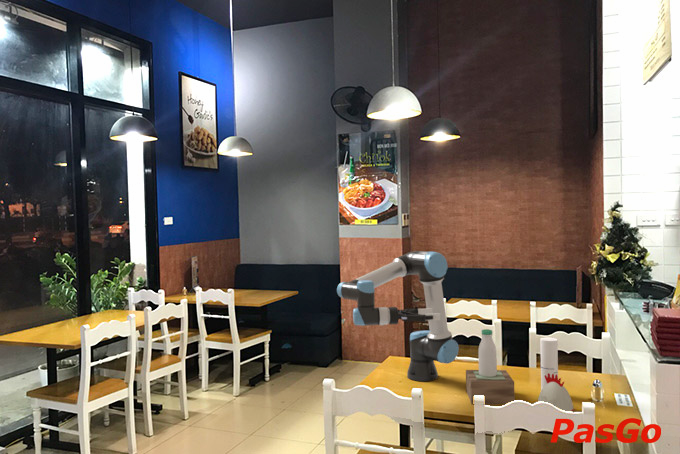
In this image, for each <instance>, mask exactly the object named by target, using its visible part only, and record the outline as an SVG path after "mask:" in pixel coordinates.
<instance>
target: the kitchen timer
mask: <svg viewBox="0 0 680 454" xmlns="http://www.w3.org/2000/svg"><path fill="white" fill-rule="evenodd" d="M545 379H546V381H547V384H546V385H545V386H544V387H543V389H542V390H541V389H540V392H539V396H538V399H537V402H538V401H544V402H548V403H551V404H553V405H554V406H556V407H558V408H560V409H562V410H565V411H574V404H573V401H572V398H571V396H570V393H569V392H568V390H567V388H566V387H565V386H564V384H565V381H562V383H561V380H562V377H559V376H558V377H557V375H555V379H554V374H552V377H550V374H549V373H548V378H547V376H546V375H545Z"/></svg>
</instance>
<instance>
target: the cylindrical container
mask: <svg viewBox="0 0 680 454" xmlns="http://www.w3.org/2000/svg"><path fill="white" fill-rule="evenodd" d="M539 339H540V340H539V341H540V343H539V344H540V347H539V348H540V349H539V350H540V391H541V390H542V389H543V387H544V386H545V385H546V384H547V381H546V379H545V375H546V376H547V378H548V373H549V374H550V377H552V374H554V379H555V375H557V377H558V378H559V366H558V365H559V364H558V363H559V359H558V357H559V356H558V355H559V354H558V351H559V349H558V339H557V338H554V337H549V336H548V337H547V336H546V337H541V338H539Z"/></svg>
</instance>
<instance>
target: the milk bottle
mask: <svg viewBox="0 0 680 454" xmlns="http://www.w3.org/2000/svg"><path fill="white" fill-rule="evenodd" d="M492 336H493V330H492V329H487V328H486V329H481V340H480V343H479V346H478V370H479V375H481V376H483V377H494V376H496V375H497V370H498V368H497V366H498V365H497V364H498V363H497V348H496V345H495V342H494V340H493V337H492Z"/></svg>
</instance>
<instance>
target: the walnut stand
mask: <svg viewBox="0 0 680 454" xmlns="http://www.w3.org/2000/svg"><path fill="white" fill-rule="evenodd" d="M465 391H466V394H467V397H468V399H469V401H470V404H471V405H474V404H473V396H474V395H484V396H485V404H484V405H499V404H502V405H504V404H506V403H508V402H511V401H514V400H515V399H516V398H515V397H516V396H515V381H514V380H513V378H512V377H511V375H510V374H509V372H508V371H507V369H497V375H496V376H494V377H483V376H481V375H479V369H465Z"/></svg>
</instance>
